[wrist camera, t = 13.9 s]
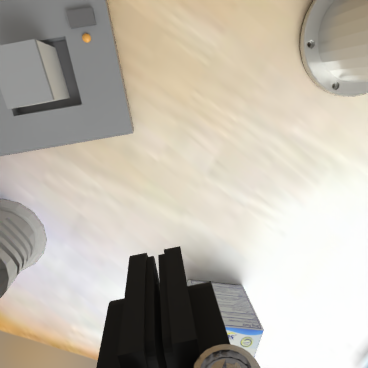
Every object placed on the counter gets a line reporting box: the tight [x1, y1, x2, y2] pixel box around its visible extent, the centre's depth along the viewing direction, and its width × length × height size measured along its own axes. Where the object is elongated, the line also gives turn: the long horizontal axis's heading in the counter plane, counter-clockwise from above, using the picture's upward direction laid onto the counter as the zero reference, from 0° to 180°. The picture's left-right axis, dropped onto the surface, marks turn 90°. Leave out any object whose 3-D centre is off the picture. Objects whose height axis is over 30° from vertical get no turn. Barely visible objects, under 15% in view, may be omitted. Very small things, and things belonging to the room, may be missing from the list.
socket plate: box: [0, 0, 134, 156], centre depth 31 cm, size 16×14×3 cm
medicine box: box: [187, 280, 263, 357], centre depth 39 cm, size 8×4×9 cm, turn 78°
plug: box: [0, 39, 70, 109], centre depth 29 cm, size 4×5×6 cm
